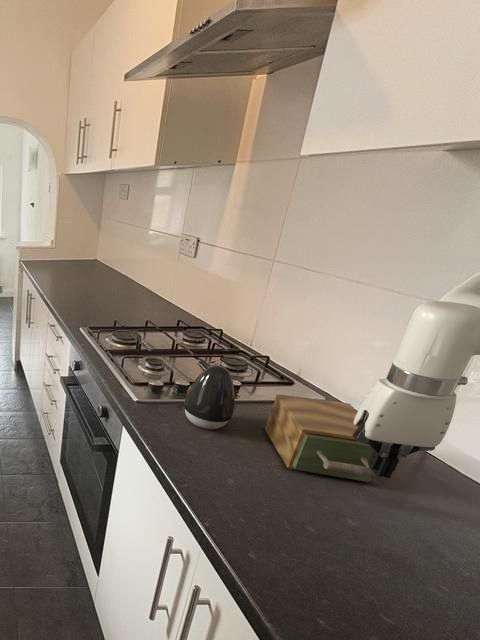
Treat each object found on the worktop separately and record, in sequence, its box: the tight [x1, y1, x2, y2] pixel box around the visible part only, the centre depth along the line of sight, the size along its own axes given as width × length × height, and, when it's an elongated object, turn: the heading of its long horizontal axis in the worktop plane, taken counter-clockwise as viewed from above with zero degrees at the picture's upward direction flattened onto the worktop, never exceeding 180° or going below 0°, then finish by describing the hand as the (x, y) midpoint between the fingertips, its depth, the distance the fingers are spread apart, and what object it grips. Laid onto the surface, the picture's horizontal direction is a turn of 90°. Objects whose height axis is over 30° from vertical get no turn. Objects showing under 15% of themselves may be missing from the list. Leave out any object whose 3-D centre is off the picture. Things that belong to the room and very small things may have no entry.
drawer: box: [293, 433, 380, 483], centre depth 83 cm, size 18×12×8 cm
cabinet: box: [264, 393, 369, 483], centre depth 87 cm, size 15×14×10 cm
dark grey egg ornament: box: [183, 360, 235, 430], centre depth 97 cm, size 10×10×15 cm
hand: (378, 472), depth 73 cm, fingers closed
